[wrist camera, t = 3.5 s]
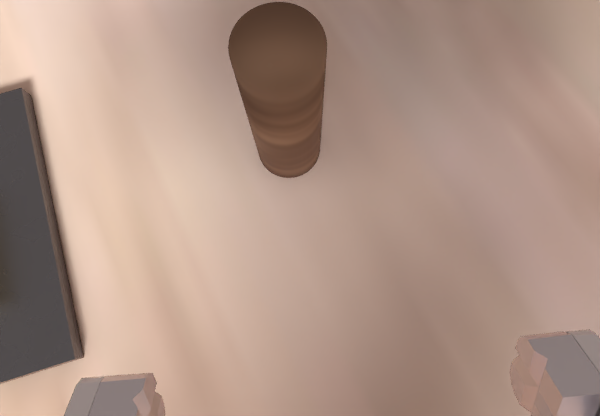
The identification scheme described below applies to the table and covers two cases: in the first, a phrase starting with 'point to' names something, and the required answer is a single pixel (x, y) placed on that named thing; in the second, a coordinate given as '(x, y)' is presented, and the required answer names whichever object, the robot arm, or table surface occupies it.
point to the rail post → (281, 83)
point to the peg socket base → (30, 253)
